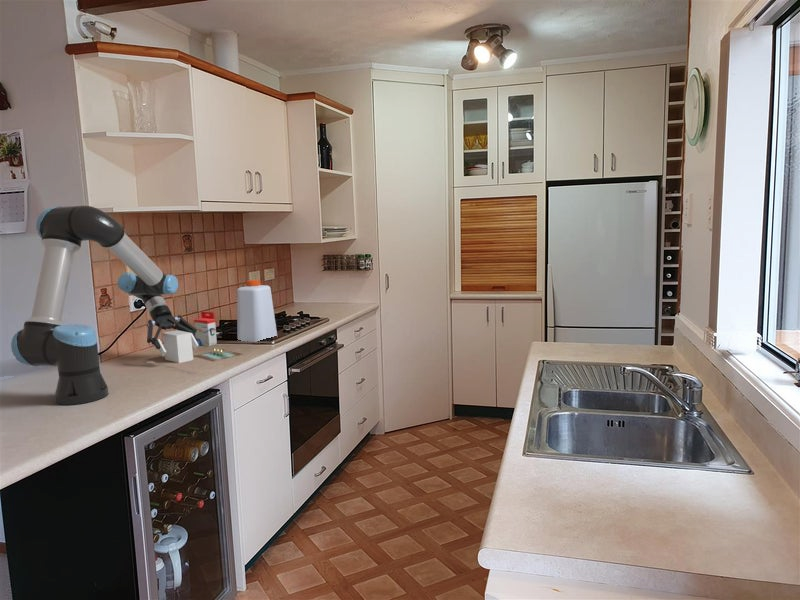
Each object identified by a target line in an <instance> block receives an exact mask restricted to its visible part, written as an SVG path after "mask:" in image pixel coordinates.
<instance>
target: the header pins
mask: <svg viewBox="0 0 800 600" xmlns="http://www.w3.org/2000/svg"><path fill="white" fill-rule="evenodd" d="M219 350H220V356H223V353H222V349H219V348H216V347H213V348H212V352H213V355H215V354H216V353H217V355H219Z"/></svg>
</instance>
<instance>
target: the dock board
mask: <svg viewBox="0 0 800 600" xmlns="http://www.w3.org/2000/svg"><path fill="white" fill-rule="evenodd" d="M220 350H222V353H223V356H220ZM242 355H244V353H241V352H236V351H232V350H226V349H223V348H222V349H219V355H217V353H216V354H215V355H213V351H209V352H204V353H200V354H195V355H193V358H196V359H197V358H198V359H200V360H201V359H202V360H206V361H210V362H217V361H220V360H221V361H222V360H226V359H229V358H233V357H239V356H242Z"/></svg>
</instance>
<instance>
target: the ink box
mask: <svg viewBox="0 0 800 600" xmlns="http://www.w3.org/2000/svg"><path fill="white" fill-rule="evenodd" d="M200 316H201V317H199V318H194V320H193V321H194V322H193V323H194V327H195V328H196V329H197V331H196V333H195V336H196V338H197V340H196V341H197V343H198V345H199V346H206V347H211V346H215V345H217V343H218V341H217V330H216V329H217V327H216V319H215V312H214V311H200Z"/></svg>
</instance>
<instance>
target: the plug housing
mask: <svg viewBox="0 0 800 600" xmlns="http://www.w3.org/2000/svg"><path fill="white" fill-rule="evenodd" d="M162 340H163V342H162V344H163V346H164V348H165V350H166V354H165V356H164V360H166V361H171V362H174V363H177V364H182V363H186V362H190V361H194V357H193V356H194V352H193V350H194V349H193V345H192V339H191V333H189V332H184V331H179V330H177V329H174V330H171V331H170V330H169V331H165V332H162Z"/></svg>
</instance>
